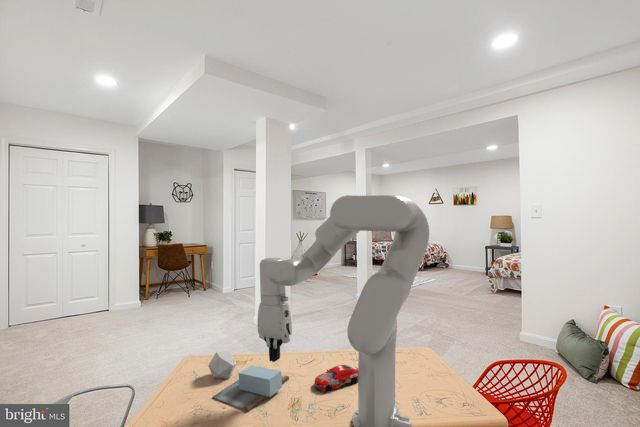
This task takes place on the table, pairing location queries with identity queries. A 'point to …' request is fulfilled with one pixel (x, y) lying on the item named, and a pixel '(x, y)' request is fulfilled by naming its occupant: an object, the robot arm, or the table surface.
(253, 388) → the tall block
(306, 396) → the table surface
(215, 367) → the die
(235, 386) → the mat
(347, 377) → the race car
